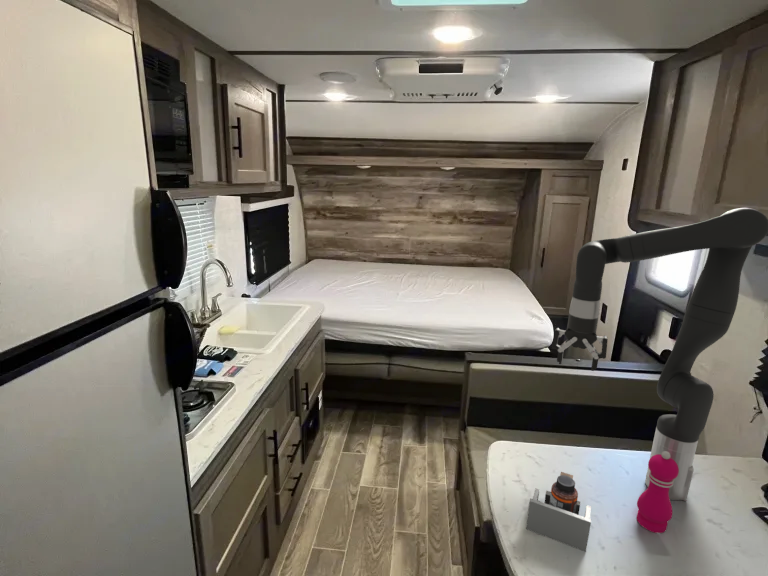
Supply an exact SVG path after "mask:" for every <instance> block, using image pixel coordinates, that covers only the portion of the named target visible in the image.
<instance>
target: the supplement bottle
mask: <svg viewBox="0 0 768 576" xmlns="http://www.w3.org/2000/svg"><path fill="white" fill-rule="evenodd" d="M575 486H576V481H575V480H574V479H572V478H571V477H569V476H565V475H560V474H559V475H558V476H557V477H556V481H555V482H554V483H553V484H552V486H551V490H550V492H551V495H550V503H549V505H551V506H554V507H557V508H560V509H563V510H566V511H569V512H572V513H574V514H575V512H576V506H577V501H578V498H579V493H578V490H577V488H576V487H575Z"/></svg>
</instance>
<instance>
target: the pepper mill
mask: <svg viewBox="0 0 768 576" xmlns="http://www.w3.org/2000/svg"><path fill="white" fill-rule="evenodd" d="M670 457H671V456H670V453H669V452H667V451H663V452H662V454H657V455H654V456H652V457H651V458H650V457H649V460H648V464H647V465H648V466H647V468H648V467H649V469H650V471H649V475H648V478H649V479H650V483H649V486H648V487H647V488H646V489H645V490H644V491H643V492H641V494H640V495H639V497H638V499H637V503H636V505H637V506H636V507H637V514H636V521H637V522H638V524H639V525H640V526H641V527H643V528H644V529H645V530H647V531H650V532H651V533H656V534H662V533H665V532H666V530H667V529H668V528H667V527H668V523H669V522H670V521H671V519H672V517H673V506H672V503H671V499H669V488H670V487H672V486H673V482H674V479H675V478H676V477H677V476H678V473H679V468H678V465H677V463H676V462H675V461H674V460H673V459H672V458H670Z"/></svg>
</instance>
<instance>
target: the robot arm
mask: <svg viewBox="0 0 768 576" xmlns="http://www.w3.org/2000/svg"><path fill="white" fill-rule="evenodd" d="M767 235H768V218H767V215H765V214H764V213H763V212H761V211H759V210H757V209H755V208H750V207H740V208H733V209H729V210H728V211H726V212H724V213H723V214H721V215H720V216H716V217H712V218H710V219H707V220H704V221H700V222H696V223H692V224H686V225H681V226H676V227H669V228H668V227H667V228H661V229H660V228H659V229H655V230H649V231H648V230H647V231H643V232H638V233H637V232H636V233H633V234H629V235H628V234H627V235H624V236H621V237H615V238H605V239H599V240H593V241H589V242H586V243H585V244H583V245H582V246H581V248H580V249H579V250H578V253H577V255H576V265H575V266H576V267H575V281H574V284H573V290H572V291H573V292H572V297H571V301H570V306H569V308H568V312H569V313H568V320H567V326H566V330H564V329H560V328H559V327H556V328H555V330H554V333H553V339H552V343H551V349H552V350H556V351H557V356H556V357H557V358H556V361H557V363H558V365H563V364H562V363H563V361H564V359H563V358H564V351H565V350H566V349H568V348H569V347H570V346H571V347H573V348H579V349H582V350H585V349H587V351H588V352H589V353H590V354H591V356H592V361H591V368H590V371H593V372H594V371H595V370H597V368H598V363H599V360H600V359H605V360H606V358H607V349H608V341H609V340H608V339H609V337H608V336H607V335H603V336H599V335H597V329H598V322H599V318H600V317H599V316H600V308H601V296H602V290H603V276H604V271H605V267H606V265H609V264H613V263H619V262H620V263H625V264H626V263H633V262H639V261H646V260H651V259H655V258H662V257H666V256H671V255H675V254H679V253H685V252H692V251H697V250H707V249H708V253H707V257H706V260H705V264H704V266H703V268H702V270H701V273H700V274H699V277H698V278H697V281H696V283H695V286H694V288H693V291H692V293H691V295H690V299H689V300H688V301H689V302H688V304H687V306H686V309H685V312H684V316H683V319H682V322H681V326H680V329H679V331H678V334H677V336H676V339H675V343H674V345H673V348H672V349H671V351H670V355H669V356H668V358H667V360H666V362H665V365H664V367H663V368H662V371H661V374H660V376H659V378H658V381H657V385H656V393H657V395H658V397H659V398H660V399H661V400H662V401H663V402H665V403H666V404H668V405H670V406H671V407H673V408H675V409H677V414H671V413H669V414H662V415H660V416H658V419H657V423H656V427H655V432H654V437H653V442H652V447H651V451H650V455H649V456H650V457H649V459H650V458H651V457H652V456H654V455H657V454H662V452H663V451H667V452H669V453H670V456H671V457H670V458H672V459H673V460H674V461H675V462H676V463H677V465H678V468H679V473H678V476H677V477H676V478H675V479H674V482H673V486H672V487H670V488H669V499H670V501H684V502H687V501H688V500H687V499H688V496H689V491H690V487H691V483H692V480H693V479H692V478H693V476H694V475H693V474H694V472H695V469H694V464H693V463H694V460H695V455H696V451H697V448H698V447H697V446H698V444H699V439H700V435H701V433H702V432H703V431H704V429H705V427H706V425H707V421H708V419H709V415H710V412H711V408H712V405H713V401H714V389H713V387H712V386H711V385H710V384H709V383H707V382H706V381H704V380H702V379H700V378H698V377H695V376H693V375H691V370H692V368H693V365H694V364H695V362H696V360H697V358H698V357H699V355H700V354H702V352H703V351H705V350H706V349H708V348H710V346H712V345H713V344H715V343H716V342H717V341H718V340H720V339H721V338H723V337H724V336H725V335H726V334H727V332H728V330H729V329H730V327H731V323H732V321H733V319H734V316H735V312H736V310H737V305H738V300H739V294H740V286H741V277H742V271H743V267H744V264H745V262H746V260H747V258H748V256H749V254H750V251H751V249H752V247H753V246H755V245H757V244H759V243H761V242H762V241H763V240H764V239H765V238H766V237H767ZM563 335H564V336H565V338H566V340H565V341H564V342H563V343H561V345H559V344H558V342H559V338H562V336H563ZM597 341H598V343H599V344H600V345H601V352H598V351H597V349H596V347H595V345H594V343H595V342H597ZM646 470H647V471H646V475H645V480H644V481H645V485H646V487H647V488H648V486H649V483H650V479H649V478H648V475H649V471H650V469H649V467H648V466H647V469H646Z"/></svg>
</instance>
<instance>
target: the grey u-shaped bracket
mask: <svg viewBox="0 0 768 576" xmlns="http://www.w3.org/2000/svg"><path fill="white" fill-rule="evenodd" d="M539 496H540V489H539V488H535V489H534V492H533V496H532V498H529V504H528V511H527V519H526V525H525V529H526V530H527V531H531V532H533V533H535V534H537V535H541V536H543V537H546V538H548V539H550V540H553V541H557V542H559V543H562V544H564V545H567V546H570V547H572V548H575V549H576V550H579V551H582V552H587V546H588V542H589V541H588V540H589V538H590V537H589V535H590V530H591V524H592V519H591V511H592V510H591V509H592V506H590V505H585V506H586V508H585V513H584V516H582V515H580V514H579V515H577V514H574V513H572V512H569V511H566V510H563V509H560V508H557V507H554V506H551V505H549V504H546V503H544V502H543V501H539Z"/></svg>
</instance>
